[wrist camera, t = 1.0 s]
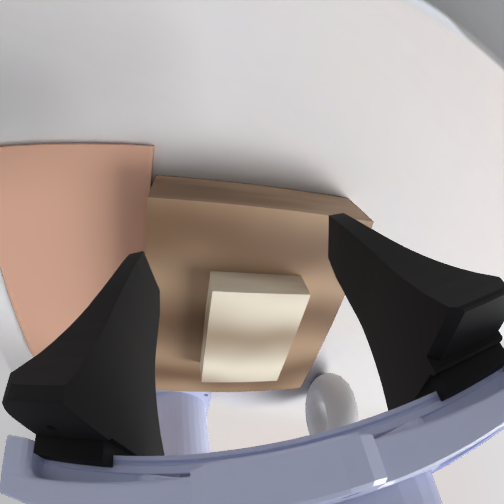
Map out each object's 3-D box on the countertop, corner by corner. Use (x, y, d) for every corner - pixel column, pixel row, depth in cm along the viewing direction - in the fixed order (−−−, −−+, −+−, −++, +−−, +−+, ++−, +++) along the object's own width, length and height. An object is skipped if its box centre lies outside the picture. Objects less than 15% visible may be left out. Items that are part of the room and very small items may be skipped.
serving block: (290, 358, 31) (300, 387, 28) (155, 356, 28) (153, 389, 25) (348, 198, 22) (373, 221, 19) (156, 175, 19) (147, 197, 16)
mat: (153, 368, 29) (152, 371, 29) (33, 353, 26) (32, 355, 25) (154, 145, 18) (153, 147, 18) (-17, 147, 15) (-19, 149, 15)
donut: (314, 357, 32) (344, 434, 24) (342, 353, 33) (375, 426, 24) (295, 403, 37) (315, 468, 29) (319, 399, 38) (341, 461, 30)
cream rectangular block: (271, 362, 25) (276, 380, 23) (200, 362, 23) (201, 382, 22) (301, 275, 20) (310, 294, 19) (210, 270, 19) (212, 291, 17)
